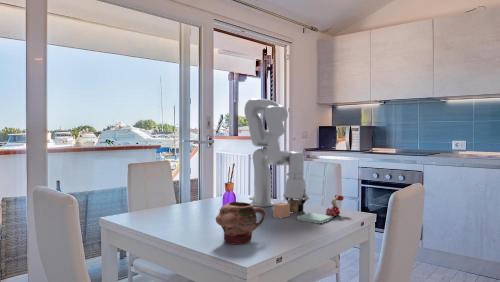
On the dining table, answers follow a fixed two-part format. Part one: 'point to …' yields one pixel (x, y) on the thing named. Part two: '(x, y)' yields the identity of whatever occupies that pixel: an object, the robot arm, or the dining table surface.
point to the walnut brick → (294, 205)
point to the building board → (314, 217)
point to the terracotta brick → (281, 210)
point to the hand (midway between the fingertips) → (295, 211)
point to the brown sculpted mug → (239, 221)
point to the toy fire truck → (334, 207)
